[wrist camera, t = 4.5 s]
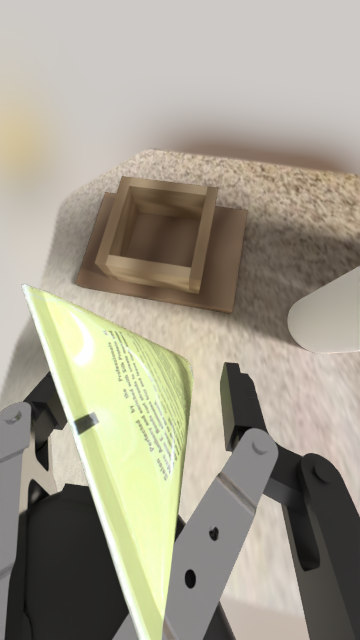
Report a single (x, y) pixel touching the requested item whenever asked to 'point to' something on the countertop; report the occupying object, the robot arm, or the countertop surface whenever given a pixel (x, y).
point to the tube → (123, 439)
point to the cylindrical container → (329, 316)
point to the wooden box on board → (165, 245)
